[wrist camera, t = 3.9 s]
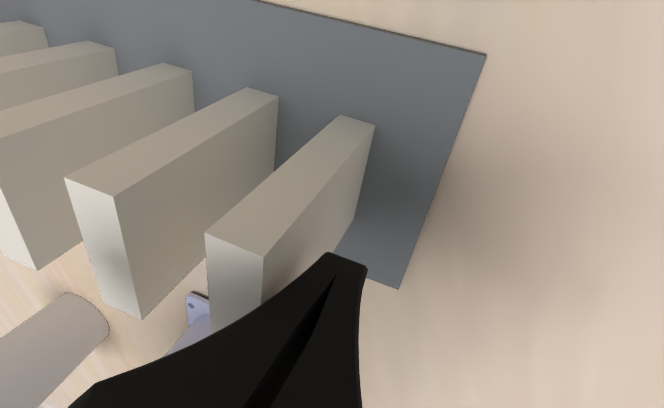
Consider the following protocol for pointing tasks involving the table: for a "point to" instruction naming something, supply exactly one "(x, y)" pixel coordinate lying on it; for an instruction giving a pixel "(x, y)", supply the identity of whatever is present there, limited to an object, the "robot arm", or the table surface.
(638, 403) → the table surface
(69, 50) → the domino
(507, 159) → the table surface
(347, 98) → the felt mat
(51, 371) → the drinking glass
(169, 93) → the domino
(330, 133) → the domino
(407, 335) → the table surface
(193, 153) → the domino
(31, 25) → the domino
